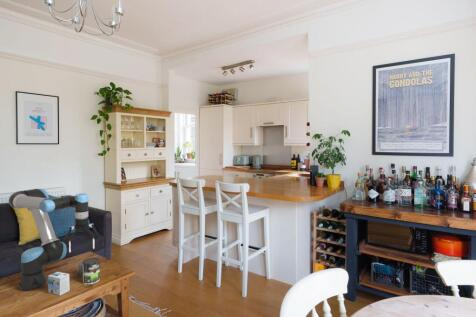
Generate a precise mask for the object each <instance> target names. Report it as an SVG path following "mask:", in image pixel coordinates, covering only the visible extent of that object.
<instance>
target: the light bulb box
mask: <svg viewBox="0 0 476 317" xmlns="http://www.w3.org/2000/svg"><path fill="white" fill-rule="evenodd" d="M47 283H48V284H47V288H48V293H50V294H53V295H57V296H62V295H64V294H65V293H68V292H70V290H71V289H70V288H71V287H70V273H66V272H61V271H55V272H54V273H51V274H49V275H48V276H47Z"/></svg>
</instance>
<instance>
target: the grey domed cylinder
mask: <svg viewBox="0 0 476 317" xmlns="http://www.w3.org/2000/svg"><path fill="white" fill-rule="evenodd" d="M77 268H78V270H77V271H78V277H83V263H82V262H80V263H78V267H77Z"/></svg>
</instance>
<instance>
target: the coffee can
mask: <svg viewBox="0 0 476 317" xmlns="http://www.w3.org/2000/svg"><path fill="white" fill-rule="evenodd" d="M81 263H83V276H82V283H83V284H84V285H93V284H97V283H98V282H99V281H100V280H101V275H100V258H99V257H89V258H86V259H83V260H82V261H81Z"/></svg>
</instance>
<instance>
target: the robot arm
mask: <svg viewBox="0 0 476 317" xmlns="http://www.w3.org/2000/svg"><path fill="white" fill-rule="evenodd" d="M49 197H50V196H49V193H48V192H47V191H46V190H45V189H43V188H33V189H27V190H19V191H15V192H13V193H12V194H11V195H10V196H9V198H8V204H9V206H10V207H11V208H14V209H17V210H18V209H20V210H22V209H23V208H25V209H27V211H29V212H31V215H32V218H33V220H34V223H35V226H36V229H37V232H38V235H39V238H40V241H41V245H40V246H36V247H31V248H29V249H26V250H25V251H24V252H22V253H21V255H20V256H21V257H20V264H21V276H20V277H21V278H20V281H19V284H18V290H19V291H24V292H27V291H28V292H29V291H33V290H36V289H37V290H38V289H41V288H42V287H43V286H45V285H48V284H47V283H48V276H46V273H45V268H44V266H45V267H46V266H47V265H49V264H53V263H56V262H58V261H60V260H63V259H64V258H65V257H66V255H67V253H68V251H69V253H71V252H72V250H71V247H72V246H71V245H72V244H71V240H72V239H73V238H74V237H75V236H76V234H78V233H85V232H87V233H88V234H89V235H90V236H91V237H92V249H93V250H94V249H95V244H97V238H99V237H100V234H99V233H98V231H97V229H96V227H95V225H94V223H90V224H89V201H90V200H89V195H88V193H77V194H75V195H71V194H65V195H63V196H62V197H55V198H49ZM68 208H72V209H74V217H75V218H74V220H75V221H74V225H69V228H68V231H67V232H66V234H65V236H64V238H63V241H61V240H60V238H58V237H57V236H56V233H55V230H54V228H53V225H52V222H51V220H50V216H49V213H50V212H54V211H60V210H64V209H68ZM89 227H90V228H91V229H92V231H94V233H93V232H92V231H91V230H90V229H89ZM74 229H75V230H74ZM73 230H74V232H73V233H72V234H71V232H72V231H73ZM70 234H71V235H70ZM67 248H68V249H67ZM67 250H68V251H67Z"/></svg>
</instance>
